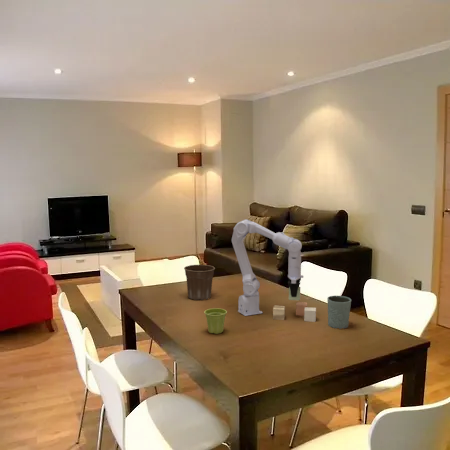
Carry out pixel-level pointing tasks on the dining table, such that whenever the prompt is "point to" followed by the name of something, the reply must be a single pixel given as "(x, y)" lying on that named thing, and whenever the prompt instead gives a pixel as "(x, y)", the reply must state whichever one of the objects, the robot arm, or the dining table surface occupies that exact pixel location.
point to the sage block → (296, 296)
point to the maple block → (279, 312)
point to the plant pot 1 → (199, 281)
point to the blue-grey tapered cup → (338, 311)
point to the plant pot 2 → (215, 319)
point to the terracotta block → (300, 308)
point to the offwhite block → (310, 314)
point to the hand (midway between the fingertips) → (294, 295)
